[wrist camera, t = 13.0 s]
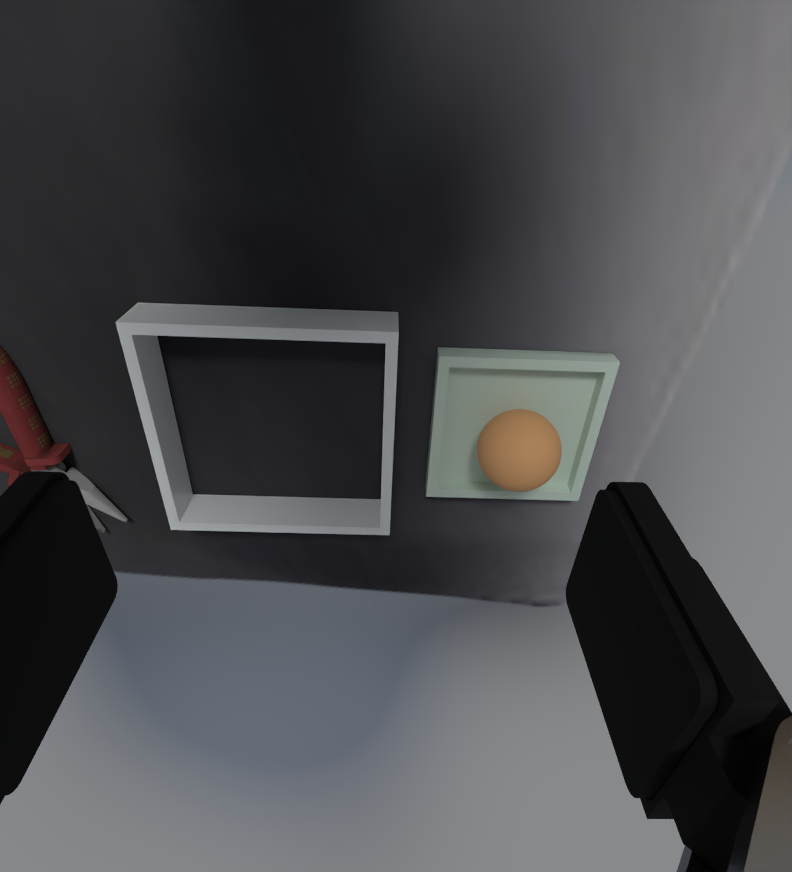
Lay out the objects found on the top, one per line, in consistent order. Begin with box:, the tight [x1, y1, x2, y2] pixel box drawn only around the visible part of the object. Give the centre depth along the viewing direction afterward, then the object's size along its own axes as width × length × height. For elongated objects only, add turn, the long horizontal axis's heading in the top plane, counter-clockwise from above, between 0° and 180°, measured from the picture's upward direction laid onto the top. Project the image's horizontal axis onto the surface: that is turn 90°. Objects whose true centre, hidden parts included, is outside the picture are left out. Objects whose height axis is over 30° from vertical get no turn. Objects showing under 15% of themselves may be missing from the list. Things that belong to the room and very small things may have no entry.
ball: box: [477, 409, 562, 492], centre depth 39 cm, size 6×6×6 cm
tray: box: [425, 347, 620, 501], centre depth 41 cm, size 13×13×2 cm
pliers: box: [0, 346, 128, 533], centre depth 41 cm, size 12×20×3 cm, turn 31°
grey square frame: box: [116, 303, 399, 535], centre depth 40 cm, size 18×18×4 cm
